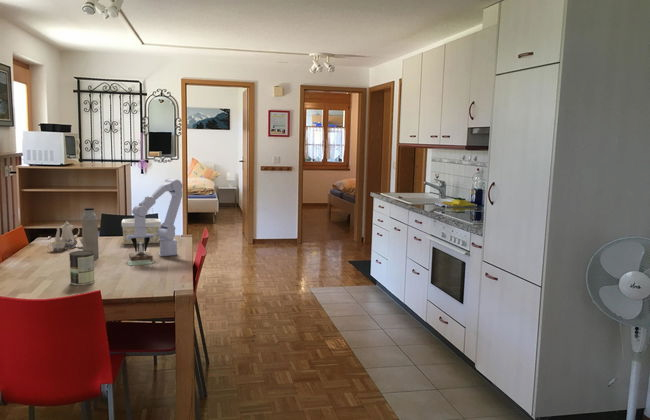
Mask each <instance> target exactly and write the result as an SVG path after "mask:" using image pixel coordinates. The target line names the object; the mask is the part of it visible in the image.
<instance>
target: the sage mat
mask: <svg viewBox="0 0 650 420" xmlns="http://www.w3.org/2000/svg"><path fill="white" fill-rule="evenodd" d="M126 263H127V265H128V267H132V266H134V267H135V266H145V265H153V262H152V260H137V261H131V260H128V261H127V260H126Z"/></svg>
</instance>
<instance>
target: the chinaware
mask: <svg viewBox="0 0 650 420" xmlns="http://www.w3.org/2000/svg"><path fill="white" fill-rule="evenodd" d="M60 227H61V229H60V228H59V226H56V227H55V228H56V234H55V238H54V239H55V240H54V241H51V242H49V244H48V245H47V249H48V250H50V251H51V250H52V251H55V252H62V250H63V248H66V249H67V250H68V248H69V249H75V248H76V246H77V245H78V241H77V239H78V236H79V235H80V232H81V230H80V227H79V226H77V225H72V224H71V223H69V221H67V220H66V221H65V223H64V224H62V225H60ZM75 228H77V229H78V232H77V234H75V235H74V233H73V230H74V229H75ZM60 235H61V236H60ZM79 241H80V244H81V245H82V246H83V242H82V238H81V237H80V238H79ZM49 246H51V248H49ZM74 247H75V248H74ZM66 249H65V250H66Z"/></svg>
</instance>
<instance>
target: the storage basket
mask: <svg viewBox="0 0 650 420" xmlns="http://www.w3.org/2000/svg"><path fill="white" fill-rule="evenodd" d="M145 224H146V234H154V238H150V241H149V243H148V245H149V244H150V245H151V244H160V239H159V237H158V235H157V231H158V229H159V228H160V226H161V224H162V220H161V218H145ZM121 228H122V237H123V245H134V244H133V242H132V240H131V239H126V235H135V219H134V218H123V219H122V220H121ZM137 238H138V237H137ZM136 240H137V245H138V243H144V238H139V239H136Z"/></svg>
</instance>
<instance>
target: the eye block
mask: <svg viewBox="0 0 650 420" xmlns="http://www.w3.org/2000/svg"><path fill="white" fill-rule="evenodd" d="M128 256H129V261H137V260H151V261H153V260H154V259H153V254H152V253H151V252H150V251H144V255H139V256H138V252H131V253H130V252H129V255H128Z"/></svg>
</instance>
